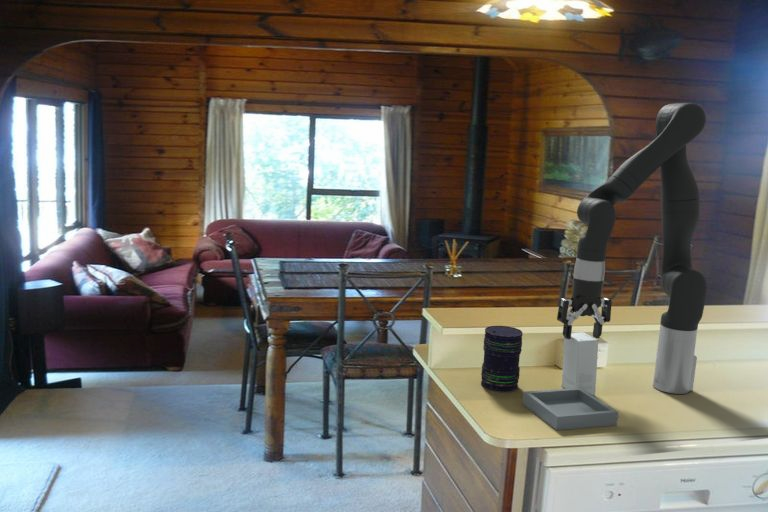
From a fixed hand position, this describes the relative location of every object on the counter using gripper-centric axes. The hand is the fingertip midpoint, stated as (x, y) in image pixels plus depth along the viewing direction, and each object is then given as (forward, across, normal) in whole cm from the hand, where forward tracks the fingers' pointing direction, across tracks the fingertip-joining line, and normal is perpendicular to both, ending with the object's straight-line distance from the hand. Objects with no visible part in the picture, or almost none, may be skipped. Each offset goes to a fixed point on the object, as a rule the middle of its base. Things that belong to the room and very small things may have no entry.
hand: (581, 338), depth 192 cm
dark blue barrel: (+15, +19, -7) cm, 25 cm away
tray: (+14, +11, +14) cm, 23 cm away
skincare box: (+14, 0, 0) cm, 15 cm away
